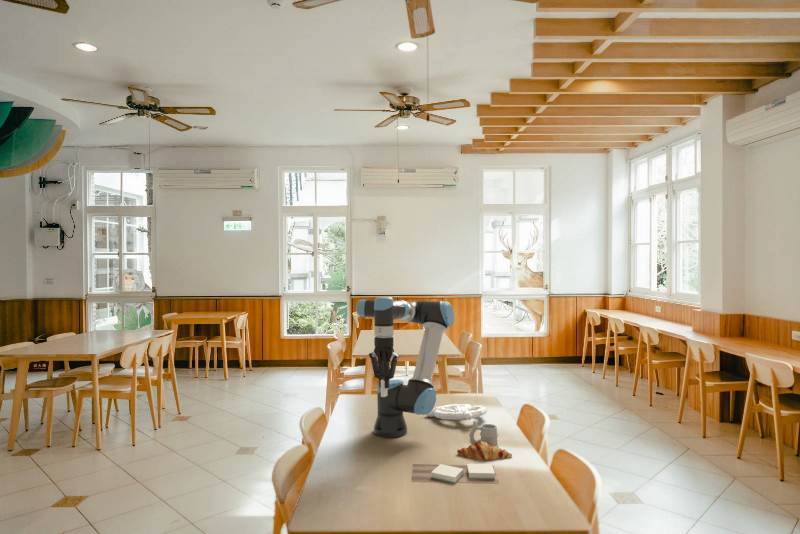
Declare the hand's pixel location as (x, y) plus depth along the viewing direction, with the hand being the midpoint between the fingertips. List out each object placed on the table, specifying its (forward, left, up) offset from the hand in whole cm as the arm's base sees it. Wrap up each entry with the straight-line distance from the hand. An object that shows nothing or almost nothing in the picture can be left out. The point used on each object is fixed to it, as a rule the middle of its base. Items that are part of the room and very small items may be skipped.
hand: (384, 396), depth 195 cm
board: (+16, +27, -24) cm, 39 cm away
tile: (+17, +20, -22) cm, 34 cm away
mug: (-10, +40, -25) cm, 48 cm away
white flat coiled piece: (-51, +32, -25) cm, 65 cm away
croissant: (-1, +39, -25) cm, 46 cm away
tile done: (+16, +36, -23) cm, 46 cm away
